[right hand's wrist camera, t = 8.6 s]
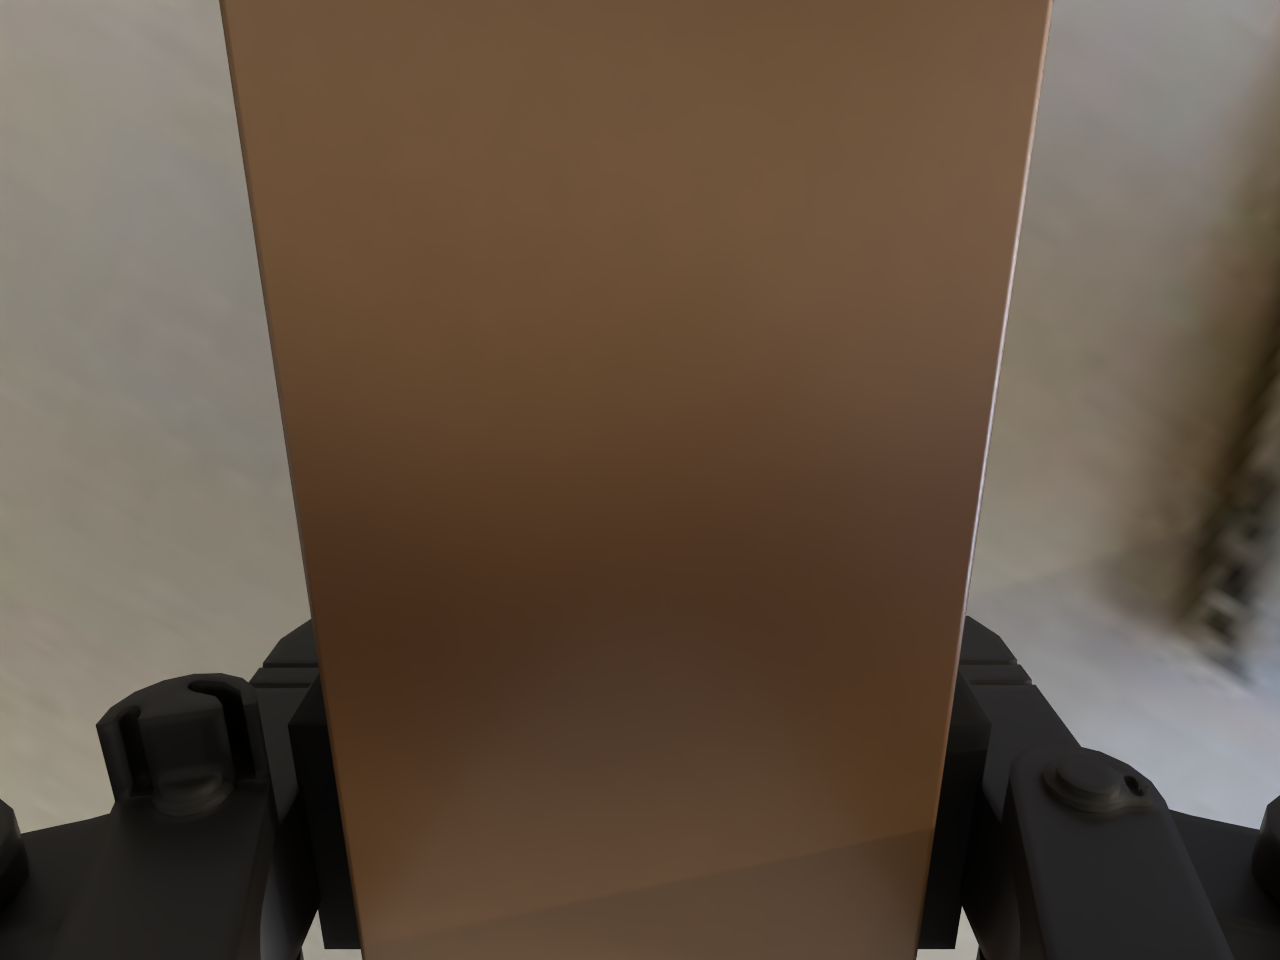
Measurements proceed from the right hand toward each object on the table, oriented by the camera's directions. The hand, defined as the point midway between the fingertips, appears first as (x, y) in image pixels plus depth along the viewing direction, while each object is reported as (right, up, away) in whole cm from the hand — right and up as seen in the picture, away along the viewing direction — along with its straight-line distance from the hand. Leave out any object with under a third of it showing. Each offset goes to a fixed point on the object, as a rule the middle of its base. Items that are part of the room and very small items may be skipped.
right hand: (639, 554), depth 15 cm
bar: (0, +9, -3) cm, 9 cm away
